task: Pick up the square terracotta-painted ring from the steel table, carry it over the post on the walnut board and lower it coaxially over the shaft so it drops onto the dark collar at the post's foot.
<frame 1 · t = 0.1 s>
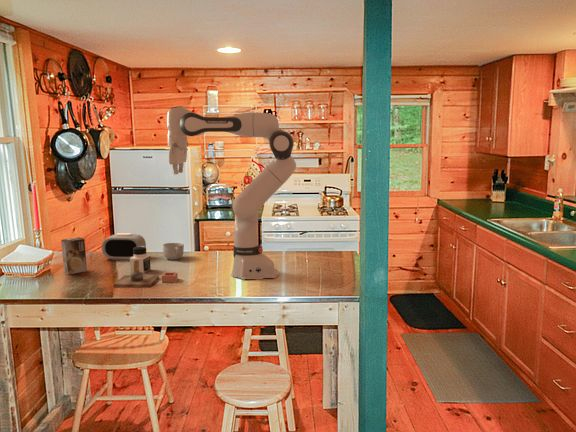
hand: (178, 173, 230), 48 cm above the kitchen island, tool pointing down, fingers open, 8 cm apart
coffee box: (75, 272, 242), on the kitchen island
medicine bottle: (140, 271, 244), on the kitchen island
post: (137, 282, 225), on the kitchen island
alarm clock: (124, 259, 268), on the kitchen island
teacup: (174, 259, 267), on the kitchen island
ring: (169, 280, 228), on the kitchen island
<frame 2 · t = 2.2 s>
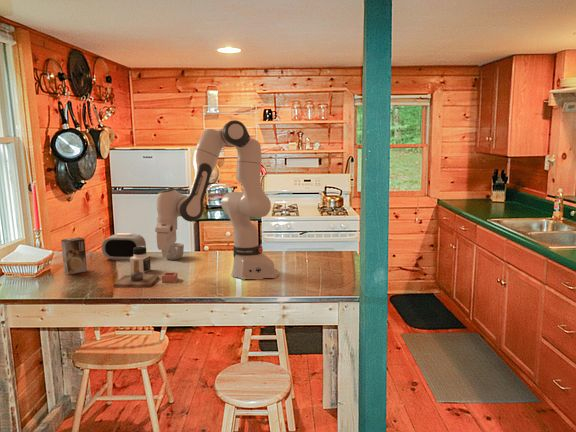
hand: (167, 255, 226), 12 cm above the kitchen island, tool pointing down, fingers open, 8 cm apart
nothing on the kitchen island moved.
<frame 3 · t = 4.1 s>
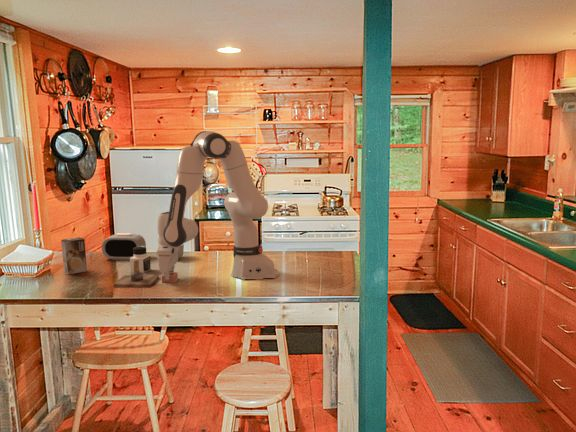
hand: (169, 276, 228), 2 cm above the kitchen island, tool pointing down, fingers closed on ring, 6 cm apart
ring: (169, 280, 228), on the kitchen island, touching gripper
everything else where it was.
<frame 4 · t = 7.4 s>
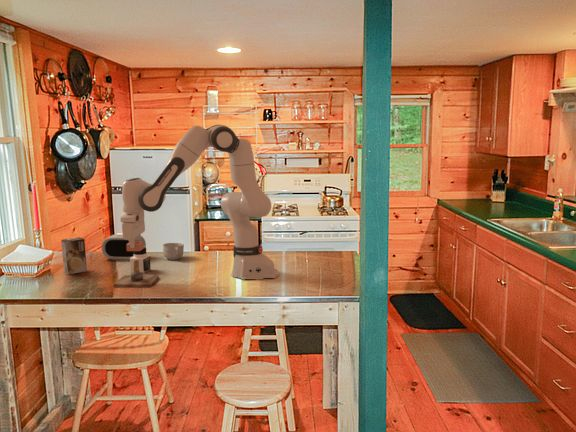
hand: (135, 245, 223), 17 cm above the kitchen island, tool pointing down, fingers closed on ring, 6 cm apart
ring: (135, 249, 223), point 15 cm above the kitchen island, touching gripper
everything else where it was.
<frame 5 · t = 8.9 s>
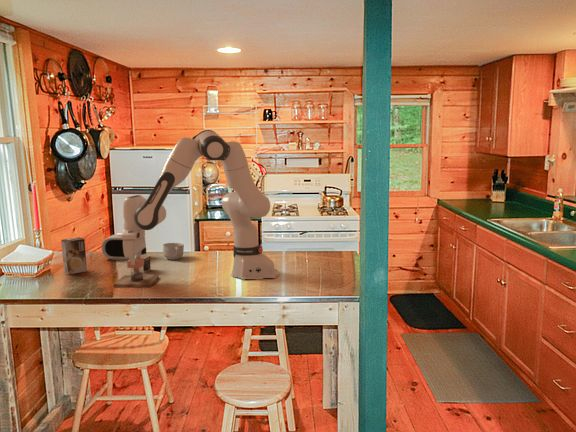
hand: (135, 262, 224), 9 cm above the kitchen island, tool pointing down, fingers closed on ring, 6 cm apart
ring: (135, 266, 224), point 7 cm above the kitchen island, touching gripper
everything else where it was.
when the fingers open (7 cm above the kitchen island, at t = 10.3 s): ring drops 1 cm, resting on post.
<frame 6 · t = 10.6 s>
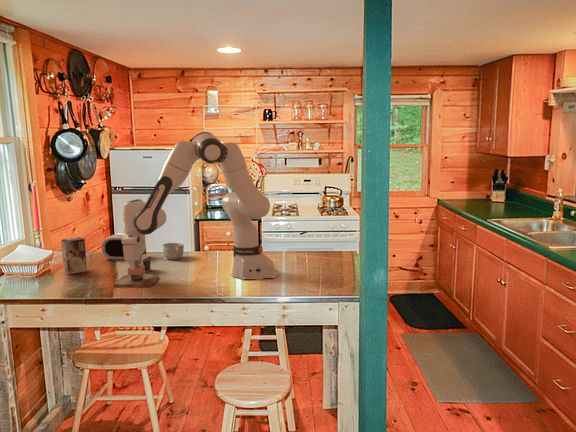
hand: (136, 266, 224), 7 cm above the kitchen island, tool pointing down, fingers open, 8 cm apart
ring: (136, 273, 225), point 4 cm above the kitchen island, touching post
everything else where it was.
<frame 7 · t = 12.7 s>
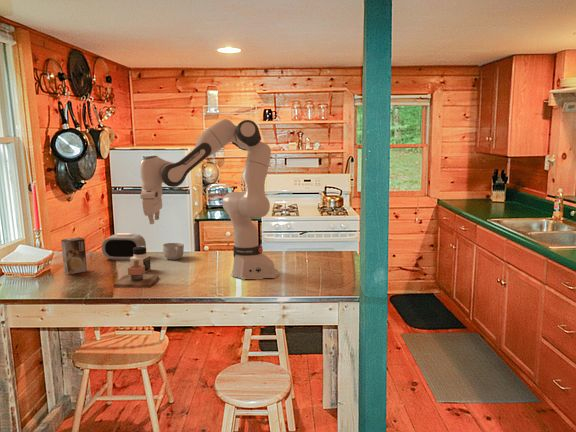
hand: (154, 221, 231), 26 cm above the kitchen island, tool pointing down, fingers open, 8 cm apart
nothing on the kitchen island moved.
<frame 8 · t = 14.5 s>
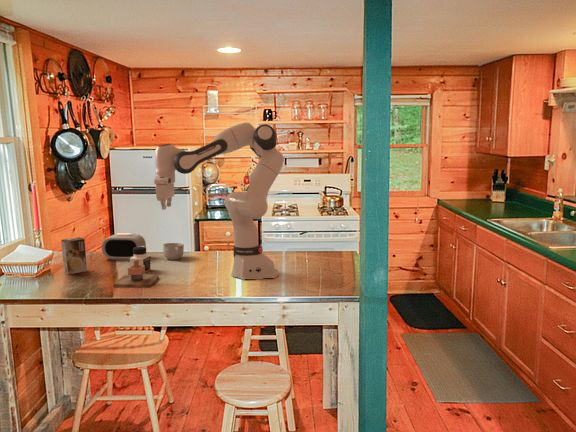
hand: (166, 207, 238), 31 cm above the kitchen island, tool pointing down, fingers open, 8 cm apart
nothing on the kitchen island moved.
at the end: ring 0.0 cm off-centre on the post, point 4.2 cm above the post's base; the gripper is holding nothing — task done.
